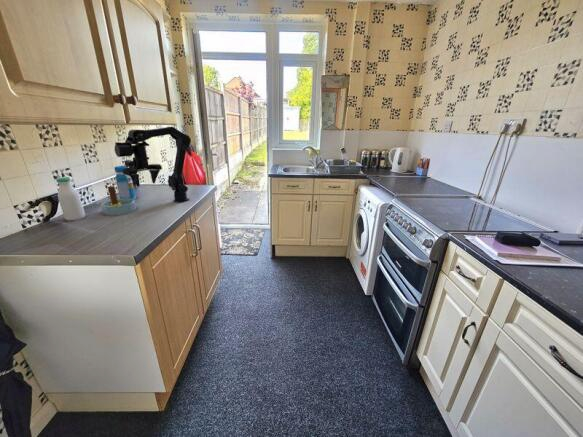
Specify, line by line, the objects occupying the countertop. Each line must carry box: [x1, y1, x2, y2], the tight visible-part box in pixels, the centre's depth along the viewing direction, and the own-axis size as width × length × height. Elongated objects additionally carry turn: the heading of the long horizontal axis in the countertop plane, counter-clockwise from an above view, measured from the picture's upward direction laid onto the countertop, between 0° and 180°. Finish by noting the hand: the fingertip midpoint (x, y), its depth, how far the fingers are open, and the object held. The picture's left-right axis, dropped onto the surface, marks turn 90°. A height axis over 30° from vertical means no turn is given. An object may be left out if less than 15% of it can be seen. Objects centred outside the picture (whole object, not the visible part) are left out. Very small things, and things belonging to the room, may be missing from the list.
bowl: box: [100, 198, 137, 216], centre depth 130 cm, size 15×15×5 cm
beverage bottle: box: [114, 165, 137, 200], centre depth 148 cm, size 8×8×20 cm
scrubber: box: [107, 185, 121, 206], centre depth 127 cm, size 4×4×13 cm
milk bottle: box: [56, 176, 86, 221], centre depth 116 cm, size 8×8×20 cm
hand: (146, 185), depth 132 cm, fingers open, 9 cm apart
